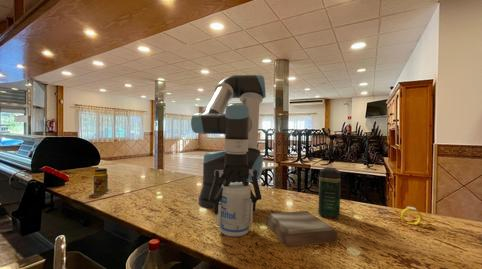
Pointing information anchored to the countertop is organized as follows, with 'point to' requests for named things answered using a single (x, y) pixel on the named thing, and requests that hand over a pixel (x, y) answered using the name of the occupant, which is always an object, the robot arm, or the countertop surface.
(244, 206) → the supplement tub
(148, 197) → the countertop surface
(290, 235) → the plinth
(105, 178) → the condiment
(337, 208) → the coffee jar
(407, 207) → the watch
